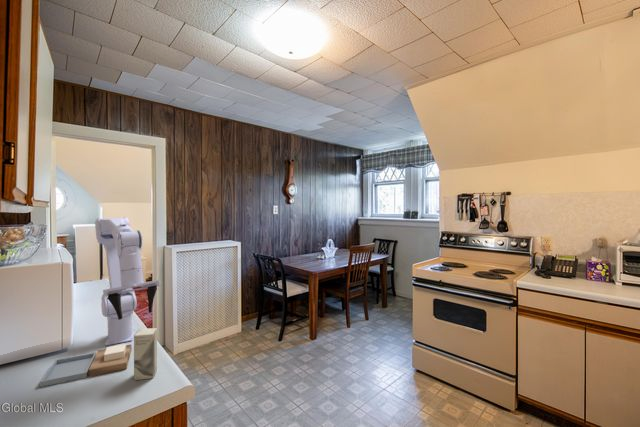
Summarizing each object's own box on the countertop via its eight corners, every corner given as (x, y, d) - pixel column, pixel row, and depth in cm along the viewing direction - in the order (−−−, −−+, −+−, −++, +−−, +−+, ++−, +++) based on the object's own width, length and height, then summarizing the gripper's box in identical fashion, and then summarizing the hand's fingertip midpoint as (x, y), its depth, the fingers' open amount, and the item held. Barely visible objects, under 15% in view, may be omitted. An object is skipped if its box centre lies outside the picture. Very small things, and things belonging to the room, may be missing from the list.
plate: (98, 356, 95) (98, 350, 95) (131, 350, 99) (131, 344, 99) (88, 376, 85) (88, 370, 84) (126, 369, 89) (126, 362, 88)
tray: (55, 364, 91) (55, 359, 91) (96, 356, 95) (96, 352, 95) (40, 387, 80) (40, 381, 80) (86, 377, 84) (86, 372, 84)
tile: (107, 353, 93) (107, 347, 93) (126, 349, 96) (126, 343, 95) (104, 361, 89) (103, 354, 89) (124, 357, 91) (123, 351, 91)
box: (133, 381, 83) (132, 335, 82) (138, 372, 87) (137, 329, 86) (154, 378, 84) (153, 333, 83) (158, 369, 88) (157, 327, 88)
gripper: (99, 274, 84) (103, 323, 82) (157, 265, 91) (162, 310, 89) (104, 275, 91) (108, 321, 89) (158, 266, 97) (163, 309, 95)
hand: (135, 315), depth 89 cm, fingers open, 7 cm apart
